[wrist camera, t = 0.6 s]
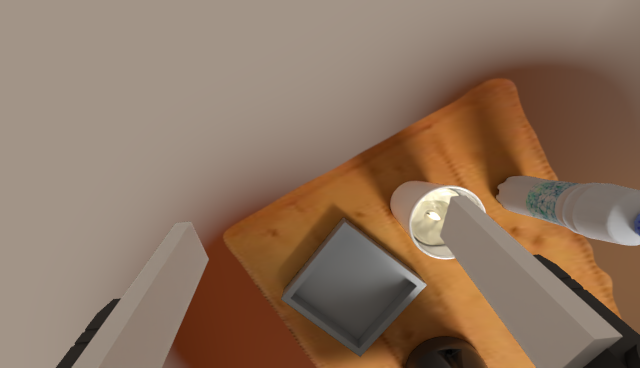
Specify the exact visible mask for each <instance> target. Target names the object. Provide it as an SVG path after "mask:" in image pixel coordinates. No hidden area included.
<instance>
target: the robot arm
mask: <svg viewBox="0 0 640 368" xmlns="http://www.w3.org/2000/svg"><path fill="white" fill-rule="evenodd" d="M440 237H441V239H442V240H443V241H444V243H445V244H446V246H447V247H448V248H449V250H450V251H451V252H452V254H453V255H454V256H455V258H456V259H457V261H458V262H459V263H460V265H461V266H462V267H463V269H464V270H465V271H466V273H467V274H468V275H469V277H470V278H471V280H472V281H473V282H474V284H475V285H476V286H477V288H478V289H479V290H480V292H481V293H482V295H483V296H484V297H485V299H486V300H487V301H488V303H489V304H490V305H491V307H492V308H493V309H494V311H495V312H496V314H497V315H498V316H499V318H500V319H501V320H502V322H503V323H504V324H505V326H506V327H507V329H508V330H509V331H510V333H511V334H512V335H513V337H514V338H515V339H516V341H517V342H518V343H519V345H520V346H521V348H522V349H523V350H524V352H525V353H526V354H527V356H528V357H529V358H530V360H531V361H532V363H533V364H534V365H535V367H536V368H640V335H639V334H638V333H637V332H635V331H634V330H633V329H632V328H631V327H629V326H628V325H627V324H626V323H625V322H624V321H622V320H621V319H620V318H619V317H618V316H617V315H615V314H614V313H613V312H612V311H611V310H609V309H608V308H607V307H606V306H605V305H604V304H602V303H601V302H600V301H599V300H598V299H596V298H595V297H594V296H593V295H592V294H591V293H589V292H588V291H587V290H584V289H583V287H582V286H581V285H580V284H579V283H578V282H576V281H575V280H574V279H571V276H569V275H568V274H567V273H566V272H565V271H563V270H562V269H561V268H560V267H559V266H558V265H556V264H555V263H553V262H551V261H550V260H548V259H546V258H544V257H543V256H541V255H539V254H538V255H532V254H531V253H529V252H528V251H527V250H526V249H525V248H524V247H523V246H522V245H521V244H519V243H518V242H517V241H516V240H515V239H514V238H513V237H512V236H511V235H509V234H508V233H507V232H506V231H505V230H504V229H503V228H502V227H500V226H499V225H498V224H497V223H496V222H495V221H494V220H493V219H492V218H490V217H489V216H488V215H487V214H486V213H485V212H484V211H483V210H481V209H480V208H479V207H478V206H477V205H476V204H475V203H474V202H473V201H471V200H470V199H469V198H468V197H467V196H466V195H462V196H452V197H451V198H450V201H449V205H448V208H447V212H446V216H445V219H444V223H443V226H442V230H441V233H440ZM208 260H209V259H208V256H207V254H206V252H205V250H204V248H203V246H202V244H201V241H200V239H199V237H198V235H197V233H196V231H195V229H194V226H193V224H192V222H181V223H175V224H174V226H173V227H172V229H171V230H170V231H169V233H168V234H167V235H166V237H165V238H164V240H163V241H162V243H161V244H160V245H159V247H158V248H157V249H156V251H155V252H154V254H153V255H152V257H151V258H150V259H149V261H148V262H147V263H146V265H145V266H144V268H143V269H142V270H141V272H140V273H139V275H138V276H137V277H136V279H135V280H134V282H133V283H132V284H131V286H130V287H129V289H128V290H127V291H126V293H125V294H124V295H123V297H122V298H121V299H113V300H112V301H111V302H110V303H109V304H107V305H106V306H105V307H104V308H103V309H102V310H101V311H100V312H99V313H97V315H96V316H95V317H94V319H93V320H92V321H91V322H90V324H89V325H88V326H87V328H86V329H85V332H84V333H82V334H81V336H80V337H79V338H78V339H77V341H76V342H75V345H74V346H73V347H71V348H70V350H69V351H68V352H67V354H66V355H65V356H64V358H63V359H62V360H61V362H60V363H59V364H58V366H57V367H56V368H162V366H163V363H164V361H165V359H166V356H167V354H168V352H169V349H170V347H171V345H172V343H173V340H174V338H175V336H176V334H177V331H178V329H179V327H180V324H181V322H182V320H183V317H184V315H185V313H186V311H187V308H188V306H189V304H190V301H191V299H192V297H193V295H194V292H195V290H196V288H197V285H198V283H199V281H200V278H201V276H202V274H203V271H204V269H205V267H206V265H207V262H208ZM406 368H488V367H487V365H486V363H485V362H484V360H483V359H482V358H481V356H480V355H479V354H478V352H477V351H476V350H475V349H474V348H473V347H472V346H471V345H470V344H469V343H467V342H465V341H463V340H461V339H458V338H454V337H437V338H433V339H430V340H427V341H425V342H424V343H422V344H420V345H419V346H418V347H417V348H416V349H415V350H414V351H413V352H412V353H411V355H410V356H409V358H408V360H407V363H406Z"/></svg>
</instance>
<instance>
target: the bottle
mask: <svg viewBox="0 0 640 368" xmlns="http://www.w3.org/2000/svg"><path fill="white" fill-rule="evenodd" d="M497 188H498V189H499V194H498V195H496V199H497V200H498V201H499V202H500V203H501V204H502V206H503V207H504V208H505V209H507V210H509V211H512V212H515V213H518V214H522V215H527V216H531V217H535V218H538V219H542V220H545V221H548V222H551V223H555V224H558V225H561V226H564V227H567V228H569V229H570V230H572V231H573V232H575V233H578V234H581V235H584V236H586V237H588V238H592V239H598V240H603V241H608V242H613V243H618V244H623V245H640V190H635V189H630V188H626V187H622V186H617V185H614V184H601V183H588V184H578V183H569V182H561V181H553V180H545V179H540V178H536V177H530V176H512V177H508V178H507V179H506V180H505V182H504V183H502V184H499V185H498V187H497Z"/></svg>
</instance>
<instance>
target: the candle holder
mask: <svg viewBox="0 0 640 368" xmlns="http://www.w3.org/2000/svg"><path fill="white" fill-rule="evenodd" d="M462 195H466V196H467V197H468V198H469V199H470V200H471V201H473V202H474V203H475V204H476V205H477V206H478V207H479V208H480V209H481V210H483V211H484V212H485V213H486V211H485V208H484V206H483V204H482V202H481V201H480V199H479V198H478V197H477V196H476V195H475V194H474V193H472V192H471V191H469V190H467V189H465V188H463V187H459V186H453V185H443V184H437V183H431V182H424V181H408V182H405V183H403V184H402V185H400V186H399V187H398V188H397V189H396V190H395V191H394V193H393V195H392V197H391V202H390V207H391V211H392V214H393V216H394V217H395V219H396V220H397V221H398V222H399V224H400V225H401V226H402V228H403V229H404V230H405V231H406V233H407V234H408V235H409V236H410V238H411V239H412V240H413V242H414V244H415V245H416V246H417V247H418V248H419V249H420V250H421V251H422V252H424V253H425V254H427V255H429V256H431V257H434V258H438V259H453V258H455V256H454V255H453V254H452V252H451V251H450V250H449V248H448V247H447V246H446V244H445V243H444V241H443V240H442V239H441V237H440V233H441V230H442V226H443V223H444V219H445V216H446V212H447V208H448V205H449V201H450V198H451V197H452V196H462Z"/></svg>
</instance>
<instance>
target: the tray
mask: <svg viewBox="0 0 640 368" xmlns="http://www.w3.org/2000/svg"><path fill="white" fill-rule="evenodd" d="M425 286H426V283H425V282H424V281H423V279H422V278H421V277H420V276H419V275H418V274H417V273H415V272H414V271H413V270H412V269H410V268H409V267H408V266H406V265H405V264H404V263H402V262H401V261H400V260H399V259H397V258H396V257H395V256H393V255H392V254H391V253H389V252H388V251H387V250H386V249H384V248H383V247H382V246H380V245H379V244H378V243H376V242H375V241H374V240H373V239H371V238H370V237H369V236H367V235H366V234H365V233H363V232H362V231H361V230H360V229H358V228H357V227H356V226H354V225H353V224H352V223H350V222H349V221H348V220H347V219H345V218H344V217H343V218H342V220H341V221H340V222H339V223H338V224H337V226H336V227H335V228H334V229H333V230H332V232H331V233H330V234H329V235H328V237H327V238H326V239H325V240H324V241H323V243H322V244H321V245H320V246H319V248H318V249H317V250H316V251H315V252H314V254H313V255H312V256H311V257H310V258H309V260H308V261H307V262H306V263H305V265H304V266H303V267H302V268H301V269H300V271H299V272H298V273H297V274H296V275H295V277H294V278H293V279H292V280H291V282H290V283H289V284H288V285H287V286H286V288H285V289H284V291H283V294H282V298H281V300H283V301H284V302H286V303H287V304H288V305H290V306H291V307H292V308H294V309H295V310H297V311H298V312H299V313H301V314H302V315H303V316H305V317H306V318H308V319H309V320H310V321H312V322H313V323H314V324H316V325H317V326H318V327H320V328H321V329H323V330H324V331H325V332H327V333H328V334H329V335H331V336H332V337H334V338H335V339H336V340H338V341H339V342H340V343H342V344H343V345H345V346H346V347H347V348H349V349H350V350H351V351H353V352H354V353H356V354H357V355H358V356H360V357H361V355H362V354H363V353H364V352H365V351H366V350H367V349H368V348H369V347H370V346H371V345H372V344H373V343H374V341H375V340H376V339H377V338H378V337H379V336H380V335H381V334H382V333H383V332H384V331H385V330H386V329H387V327H388V326H389V325H390V324H391V323H392V322H393V321H394V320H395V319H396V318H397V317H398V316H399V315H400V313H401V312H402V311H403V310H404V309H405V308H406V307H407V306H408V305H409V304H410V303H411V302H412V301H413V299H414V298H415V297H416V296H417V295H418V294H419V293H420V292H421V291H422V290H423V289H424V288H425Z"/></svg>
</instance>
